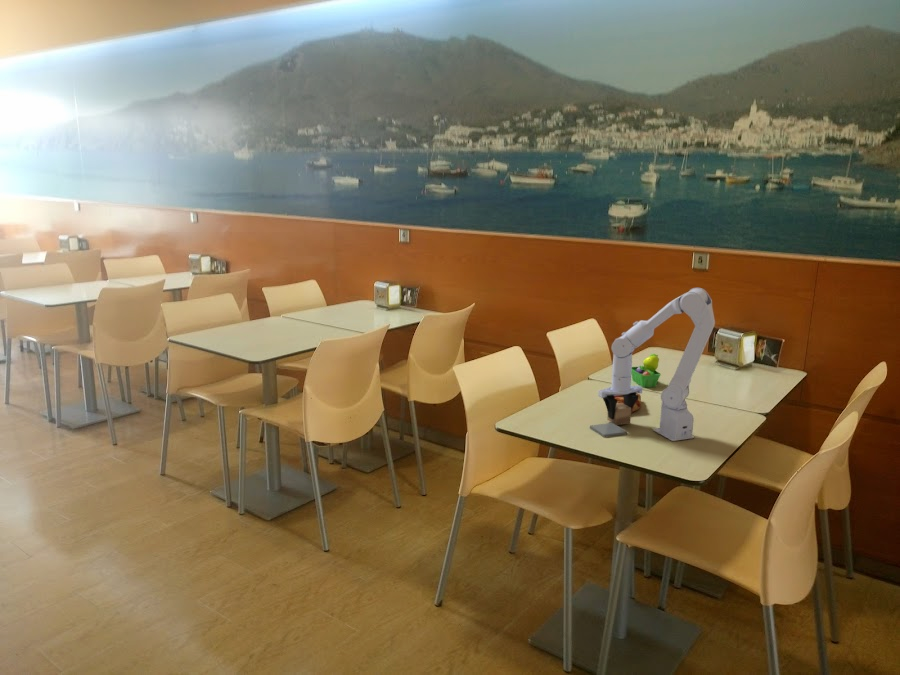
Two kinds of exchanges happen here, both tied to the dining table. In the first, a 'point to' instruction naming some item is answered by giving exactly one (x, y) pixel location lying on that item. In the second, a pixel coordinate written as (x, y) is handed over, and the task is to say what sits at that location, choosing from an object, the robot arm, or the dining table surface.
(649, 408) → the dining table surface
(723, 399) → the dining table surface
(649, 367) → the fruit basket
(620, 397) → the croissant
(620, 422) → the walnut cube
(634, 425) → the dining table surface
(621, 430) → the slate coaster
